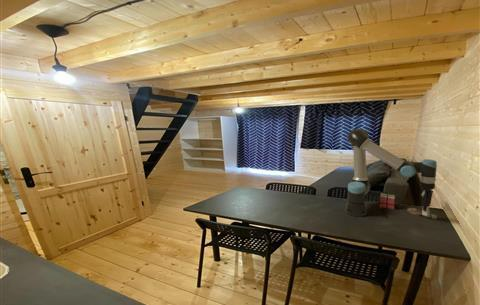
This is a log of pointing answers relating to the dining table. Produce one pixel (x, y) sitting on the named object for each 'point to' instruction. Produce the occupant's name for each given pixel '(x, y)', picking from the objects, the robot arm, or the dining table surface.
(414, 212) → the dial
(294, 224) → the dining table surface
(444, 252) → the dining table surface
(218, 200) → the dining table surface
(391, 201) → the puzzle cube
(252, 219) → the dining table surface
